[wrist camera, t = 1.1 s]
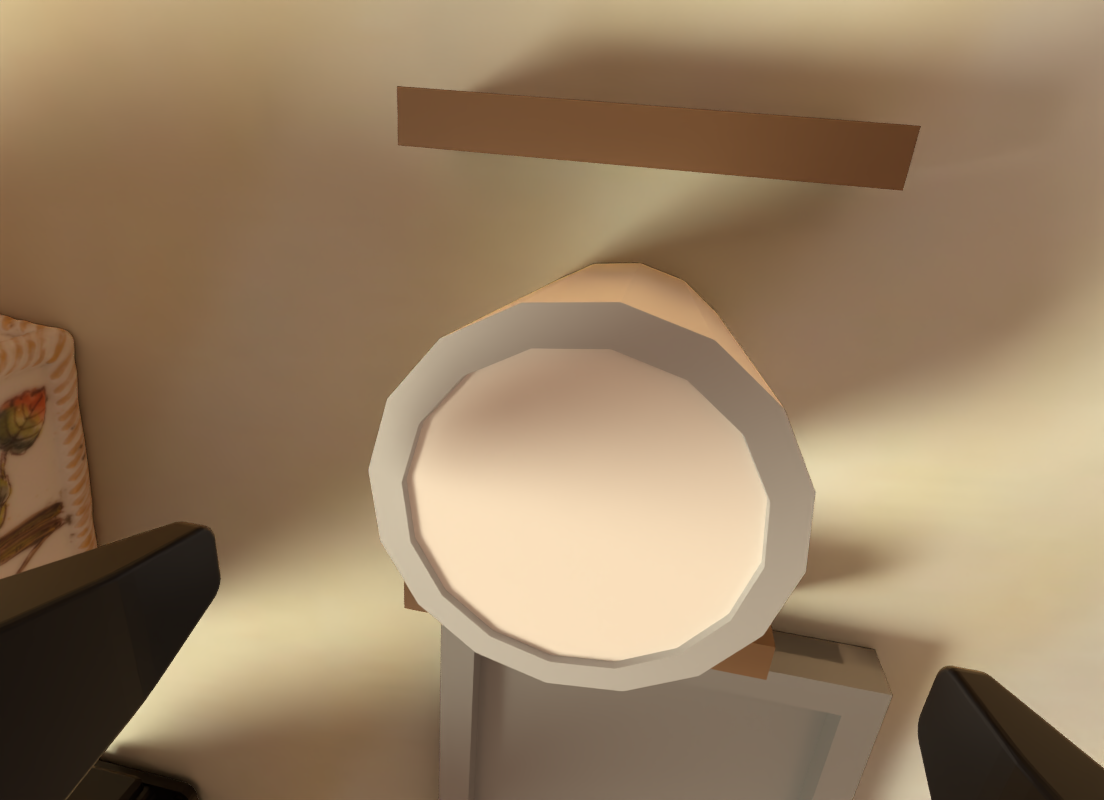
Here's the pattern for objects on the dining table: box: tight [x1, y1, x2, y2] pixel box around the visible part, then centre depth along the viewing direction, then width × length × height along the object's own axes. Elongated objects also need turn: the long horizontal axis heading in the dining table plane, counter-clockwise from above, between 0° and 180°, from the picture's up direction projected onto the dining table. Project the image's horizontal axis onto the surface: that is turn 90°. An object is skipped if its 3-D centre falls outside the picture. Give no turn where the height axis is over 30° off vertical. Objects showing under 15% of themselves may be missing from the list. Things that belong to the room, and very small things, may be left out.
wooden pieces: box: [397, 86, 920, 680], centre depth 15 cm, size 12×9×3 cm
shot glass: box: [368, 263, 815, 691], centre depth 13 cm, size 7×7×7 cm
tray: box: [439, 624, 893, 800], centre depth 20 cm, size 12×12×2 cm
